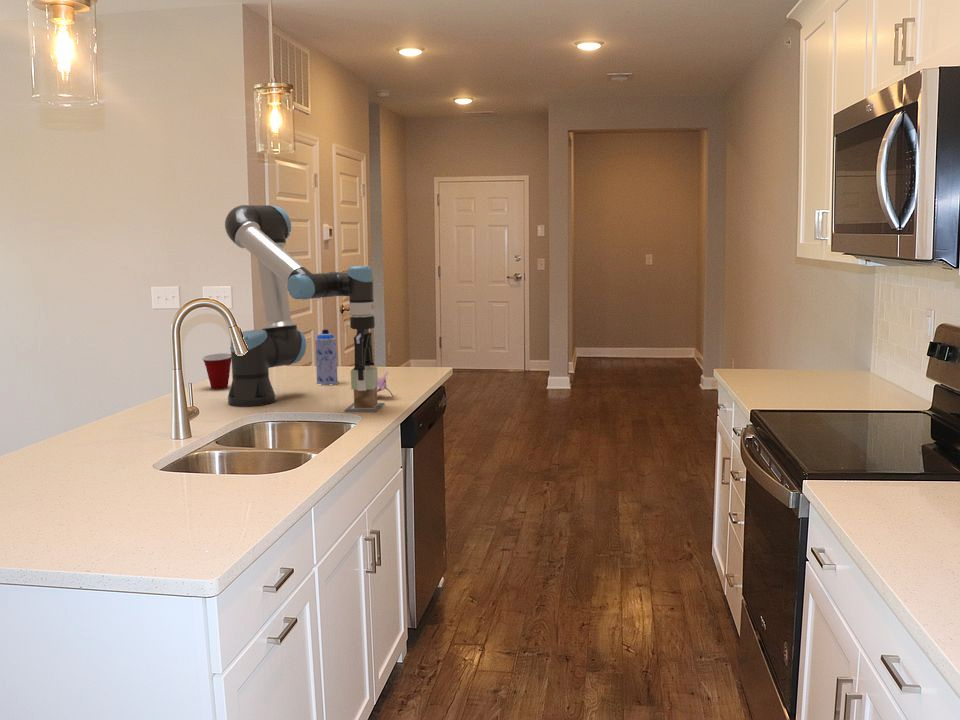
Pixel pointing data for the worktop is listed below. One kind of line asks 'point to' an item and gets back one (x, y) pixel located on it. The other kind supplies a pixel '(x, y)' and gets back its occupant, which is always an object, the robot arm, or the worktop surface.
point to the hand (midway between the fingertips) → (364, 388)
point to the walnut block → (365, 398)
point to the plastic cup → (218, 369)
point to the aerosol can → (326, 358)
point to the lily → (383, 382)
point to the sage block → (370, 378)
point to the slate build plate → (352, 409)
